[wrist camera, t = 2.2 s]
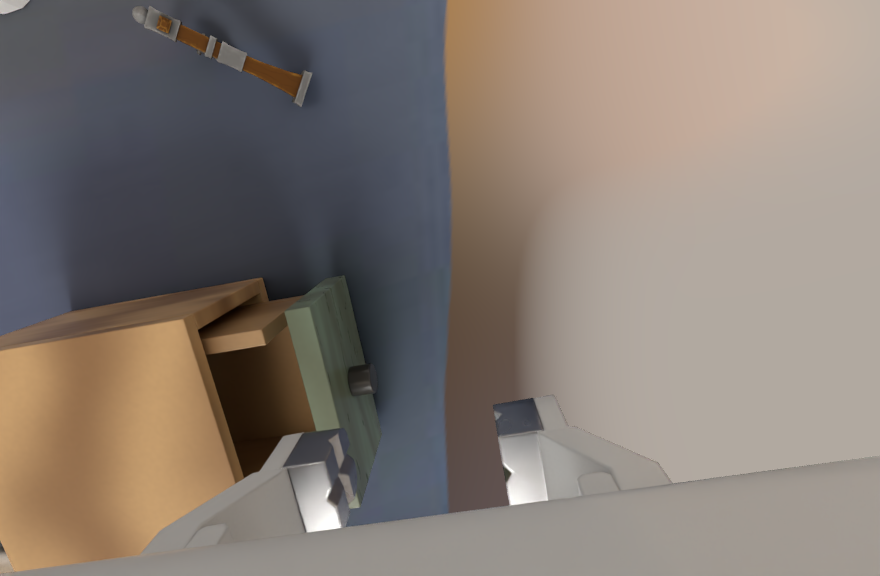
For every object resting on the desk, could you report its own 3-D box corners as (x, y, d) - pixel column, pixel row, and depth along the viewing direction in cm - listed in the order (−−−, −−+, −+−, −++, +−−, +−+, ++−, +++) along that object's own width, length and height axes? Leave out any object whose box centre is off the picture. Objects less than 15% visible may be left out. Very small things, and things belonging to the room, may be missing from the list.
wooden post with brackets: (152, 2, 24) (133, -13, 21) (304, 74, 28) (313, 72, 24) (143, 38, 25) (123, 29, 21) (294, 104, 28) (301, 107, 25)
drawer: (365, 271, 27) (335, 302, 21) (400, 431, 30) (384, 504, 23) (159, 307, 28) (68, 347, 22) (209, 459, 31) (141, 537, 24)
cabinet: (263, 276, 29) (182, 318, 20) (309, 446, 31) (255, 545, 23) (70, 311, 30) (-82, 364, 21) (131, 472, 32) (16, 577, 24)
